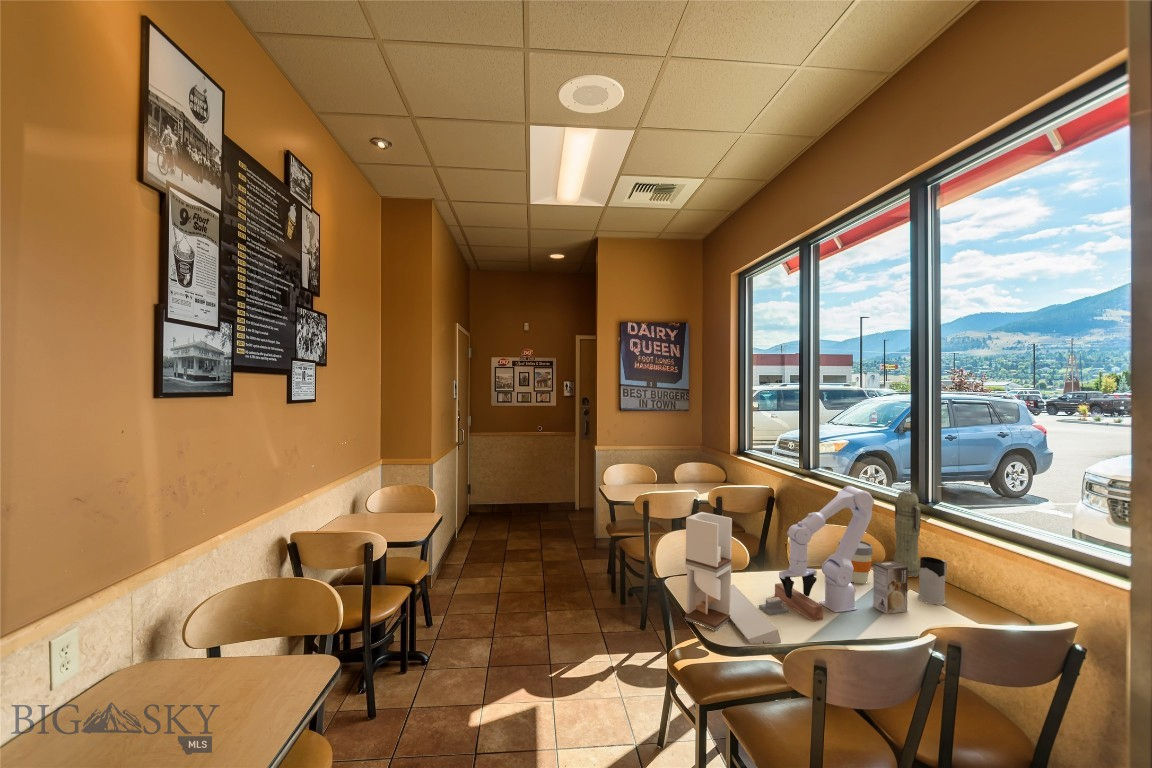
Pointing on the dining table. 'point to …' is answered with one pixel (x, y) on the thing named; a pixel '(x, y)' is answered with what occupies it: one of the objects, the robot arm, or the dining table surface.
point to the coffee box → (890, 587)
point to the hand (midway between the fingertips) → (797, 596)
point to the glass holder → (932, 580)
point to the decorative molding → (751, 620)
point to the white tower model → (708, 569)
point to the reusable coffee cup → (861, 562)
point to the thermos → (907, 531)
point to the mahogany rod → (800, 603)
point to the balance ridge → (773, 606)
